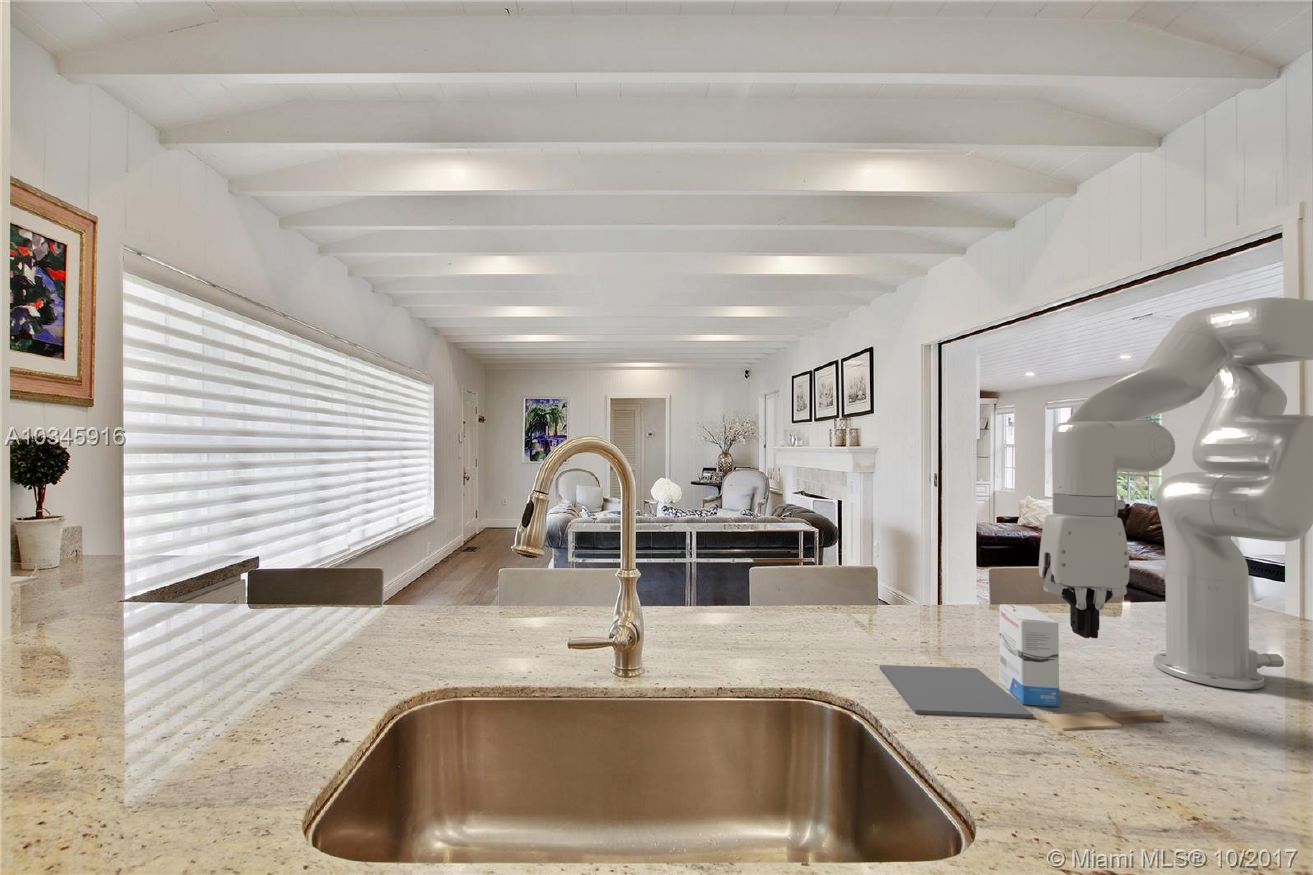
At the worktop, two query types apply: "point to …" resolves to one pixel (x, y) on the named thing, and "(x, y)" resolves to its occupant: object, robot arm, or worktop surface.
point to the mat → (952, 692)
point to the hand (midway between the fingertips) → (1084, 635)
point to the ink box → (1029, 655)
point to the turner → (1101, 719)
